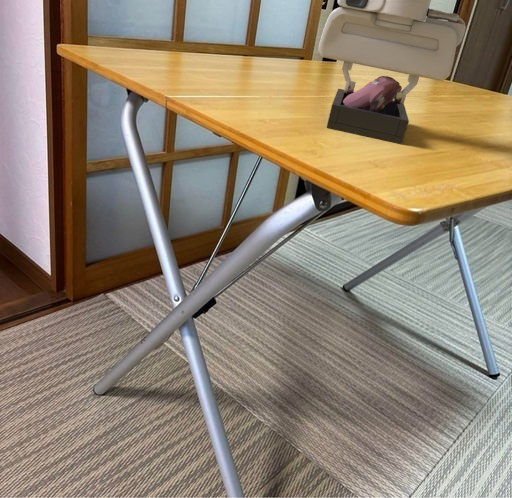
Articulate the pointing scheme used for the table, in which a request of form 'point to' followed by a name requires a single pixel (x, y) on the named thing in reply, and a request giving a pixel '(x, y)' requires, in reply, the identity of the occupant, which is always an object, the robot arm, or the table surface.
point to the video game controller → (374, 94)
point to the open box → (369, 120)
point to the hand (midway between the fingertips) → (372, 98)
